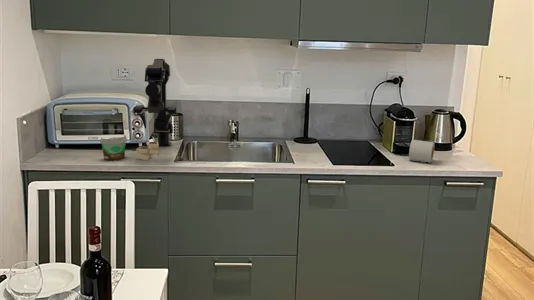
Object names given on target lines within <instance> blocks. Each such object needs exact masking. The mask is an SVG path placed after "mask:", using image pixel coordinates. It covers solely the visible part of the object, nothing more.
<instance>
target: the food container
mask: <svg viewBox="0 0 534 300" xmlns="http://www.w3.org/2000/svg"><path fill="white" fill-rule="evenodd" d="M99 142H100V144H101V148H102V155H103V160H104V161H105V160H106V161H114V162H115V160H116V161H121V159H122V160H123V159H125V158H126V157H125V156H126V155H125V154H126V143H127V142H128V139H127V136H126V134H124V135H123V137H110V138H103V137H101V138H100V141H99Z"/></svg>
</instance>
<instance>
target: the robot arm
mask: <svg viewBox="0 0 534 300" xmlns="http://www.w3.org/2000/svg"><path fill="white" fill-rule="evenodd" d="M170 77H171V66H170V65H169V63H167V62H166V59H165V58H154V59H153V62H152V64H147V66H146V67H145V72H144V82H145V83H146V82H147V85H146V87H145V90H144V91H145V94H146V96H148V101H147V106H145V105H144V104H136V105H134V106H133V108H132V109H133V114H136V116H139V117H140V119H141V121H142V124H143V127H144V129H147V120H146V119H147V118H146V112H147V113H149V114H157V115H156V117H155V119H154V122H153V133H154V134H157V142H158V144H159V147H169V146H170V145H171V142H170V135H171V134H173V133H174V127H173V124H172V121H171V117H172V116H174V115H177V113H178V106H177V105H168V106H167V84H168V82H169V80H170Z"/></svg>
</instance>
